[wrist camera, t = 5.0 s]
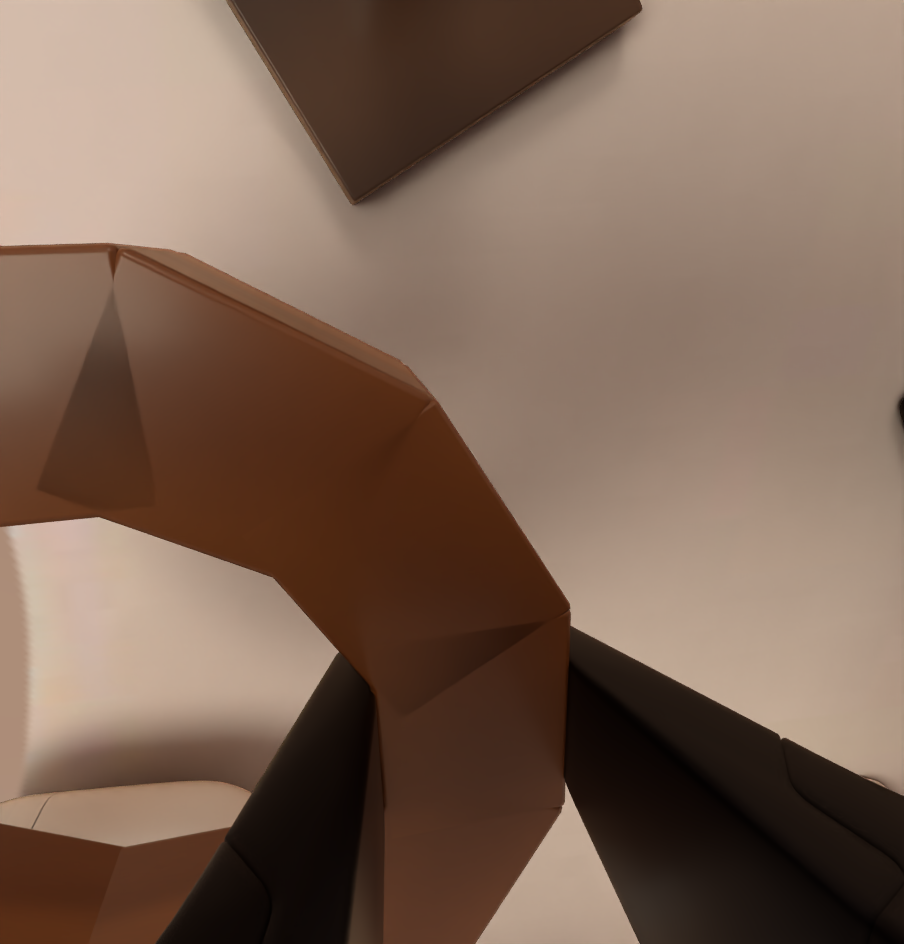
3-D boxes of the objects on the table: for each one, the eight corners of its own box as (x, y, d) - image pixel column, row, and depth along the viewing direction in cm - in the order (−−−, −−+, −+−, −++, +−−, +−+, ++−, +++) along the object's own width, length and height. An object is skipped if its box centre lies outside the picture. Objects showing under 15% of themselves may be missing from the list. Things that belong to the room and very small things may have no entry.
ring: (-169, 1019, 10) (-317, 1245, 7) (-587, 274, 6) (-1125, 278, 4) (514, 869, 12) (560, 1013, 9) (512, 239, 8) (587, 228, 6)
